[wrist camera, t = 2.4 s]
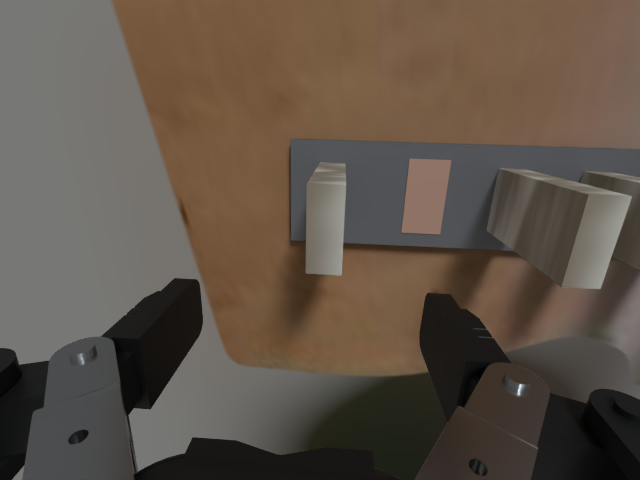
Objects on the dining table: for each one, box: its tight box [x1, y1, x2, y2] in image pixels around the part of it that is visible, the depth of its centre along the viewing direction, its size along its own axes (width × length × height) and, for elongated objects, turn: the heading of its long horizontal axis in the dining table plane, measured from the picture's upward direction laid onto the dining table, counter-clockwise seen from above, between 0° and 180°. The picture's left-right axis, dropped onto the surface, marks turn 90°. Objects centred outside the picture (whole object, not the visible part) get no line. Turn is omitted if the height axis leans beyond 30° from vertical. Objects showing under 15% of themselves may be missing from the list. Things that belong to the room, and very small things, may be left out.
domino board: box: [291, 139, 640, 251], centre depth 32 cm, size 48×10×1 cm, turn 88°
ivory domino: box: [486, 168, 632, 289], centre depth 26 cm, size 2×6×12 cm, turn 179°
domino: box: [306, 162, 346, 275], centre depth 27 cm, size 2×6×12 cm, turn 178°
